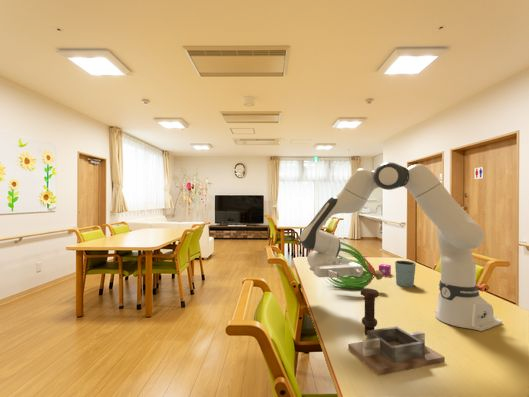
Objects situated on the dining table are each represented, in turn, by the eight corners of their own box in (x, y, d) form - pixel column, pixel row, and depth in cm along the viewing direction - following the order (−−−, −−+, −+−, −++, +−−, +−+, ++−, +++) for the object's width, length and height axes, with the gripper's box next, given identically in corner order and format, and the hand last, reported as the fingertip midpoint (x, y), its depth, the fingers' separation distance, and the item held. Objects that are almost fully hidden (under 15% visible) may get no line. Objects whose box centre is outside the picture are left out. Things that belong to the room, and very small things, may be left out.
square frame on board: (407, 339, 96) (407, 322, 96) (444, 362, 82) (444, 342, 82) (348, 348, 89) (348, 330, 89) (378, 375, 76) (378, 354, 76)
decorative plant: (385, 307, 139) (321, 299, 145) (377, 282, 163) (322, 276, 169) (389, 255, 134) (323, 250, 140) (381, 237, 158) (324, 234, 164)
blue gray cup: (405, 281, 164) (405, 260, 164) (420, 286, 154) (420, 263, 155) (390, 282, 161) (390, 261, 161) (404, 288, 151) (405, 265, 151)
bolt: (365, 329, 102) (365, 287, 102) (379, 334, 99) (380, 290, 99) (358, 335, 98) (359, 291, 98) (373, 340, 95) (374, 294, 95)
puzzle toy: (381, 273, 183) (381, 263, 183) (390, 274, 180) (390, 265, 180) (378, 274, 178) (378, 265, 178) (388, 276, 175) (388, 266, 175)
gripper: (307, 260, 120) (324, 267, 107) (351, 258, 126) (371, 265, 113) (307, 275, 120) (323, 285, 107) (350, 272, 126) (371, 281, 113)
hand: (348, 274), depth 110 cm, fingers open, 8 cm apart
